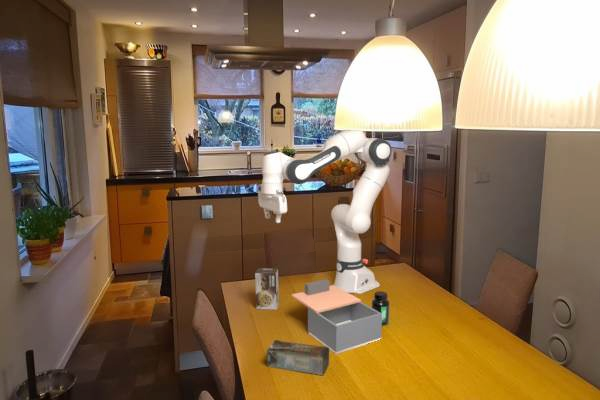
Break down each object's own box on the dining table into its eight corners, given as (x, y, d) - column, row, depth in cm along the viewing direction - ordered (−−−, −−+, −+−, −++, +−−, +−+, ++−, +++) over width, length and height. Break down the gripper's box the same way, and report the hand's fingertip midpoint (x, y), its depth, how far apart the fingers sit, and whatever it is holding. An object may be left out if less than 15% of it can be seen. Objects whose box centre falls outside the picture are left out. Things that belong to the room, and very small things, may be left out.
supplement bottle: (387, 327, 170) (388, 297, 168) (369, 324, 173) (370, 295, 170) (389, 320, 177) (391, 291, 175) (372, 317, 179) (373, 289, 177)
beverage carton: (274, 355, 151) (274, 336, 149) (330, 364, 145) (330, 345, 144) (266, 367, 143) (266, 348, 142) (324, 377, 138) (324, 357, 137)
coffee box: (279, 304, 192) (279, 268, 189) (276, 310, 186) (276, 273, 183) (258, 303, 193) (257, 267, 190) (255, 309, 187) (254, 272, 184)
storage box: (350, 320, 176) (351, 296, 174) (381, 339, 161) (382, 313, 159) (307, 332, 166) (307, 307, 164) (336, 354, 151) (336, 326, 149)
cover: (333, 286, 184) (333, 275, 184) (360, 301, 169) (361, 289, 168) (291, 296, 174) (291, 284, 173) (316, 313, 159) (316, 300, 158)
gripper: (290, 191, 184) (290, 224, 186) (268, 185, 201) (268, 215, 203) (277, 192, 181) (277, 226, 183) (255, 186, 198) (256, 216, 200)
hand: (272, 220), depth 193 cm, fingers open, 8 cm apart
